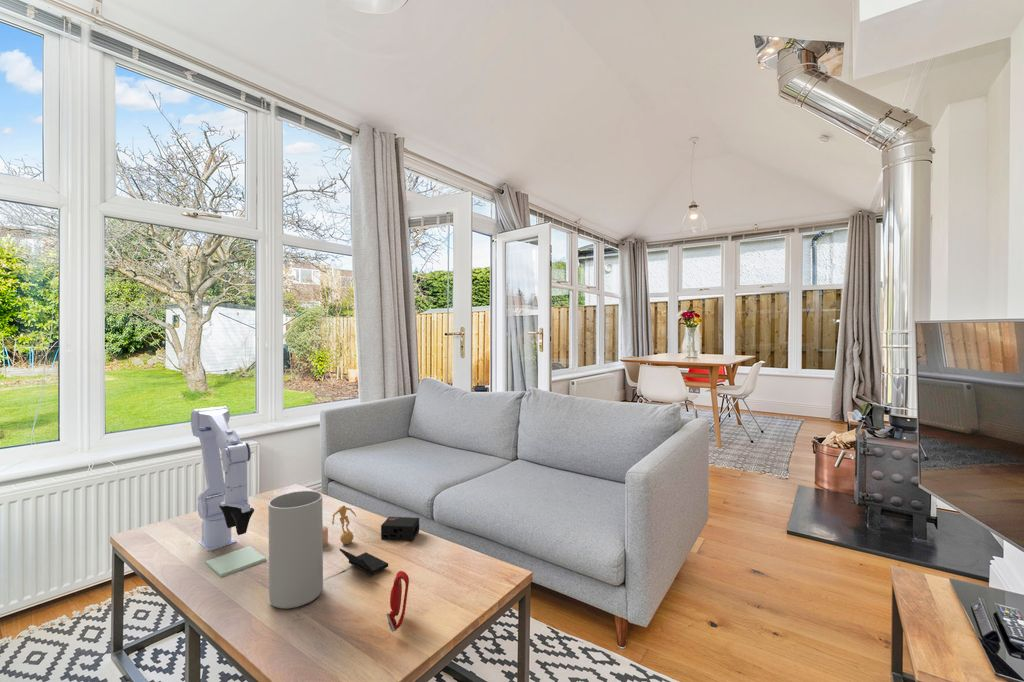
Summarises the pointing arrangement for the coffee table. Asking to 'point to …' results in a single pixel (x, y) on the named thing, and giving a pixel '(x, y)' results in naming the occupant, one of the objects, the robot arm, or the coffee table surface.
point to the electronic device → (400, 528)
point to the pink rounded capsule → (325, 536)
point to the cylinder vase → (295, 548)
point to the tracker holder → (397, 600)
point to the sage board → (235, 561)
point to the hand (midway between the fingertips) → (236, 530)
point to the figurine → (346, 535)
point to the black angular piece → (366, 562)
